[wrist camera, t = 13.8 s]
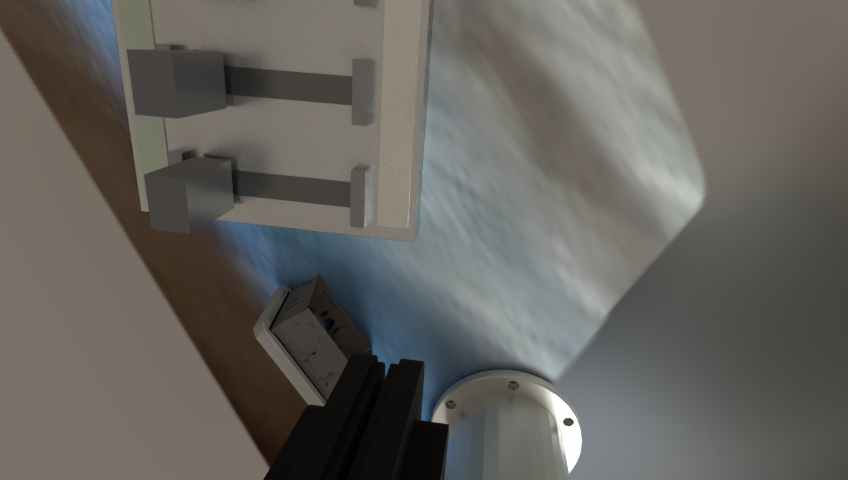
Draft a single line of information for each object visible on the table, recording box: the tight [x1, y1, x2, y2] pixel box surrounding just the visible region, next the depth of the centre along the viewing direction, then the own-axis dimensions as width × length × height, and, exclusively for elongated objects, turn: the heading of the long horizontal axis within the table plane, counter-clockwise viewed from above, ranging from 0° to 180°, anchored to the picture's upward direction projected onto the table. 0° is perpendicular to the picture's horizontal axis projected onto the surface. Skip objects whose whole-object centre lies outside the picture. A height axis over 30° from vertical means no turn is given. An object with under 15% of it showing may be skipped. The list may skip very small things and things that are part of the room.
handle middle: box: [126, 49, 227, 119], centre depth 30 cm, size 4×3×6 cm
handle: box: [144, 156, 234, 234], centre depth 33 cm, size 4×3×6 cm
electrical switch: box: [253, 275, 372, 406], centre depth 37 cm, size 9×5×9 cm, turn 32°
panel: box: [111, 0, 434, 242], centre depth 33 cm, size 20×21×3 cm
